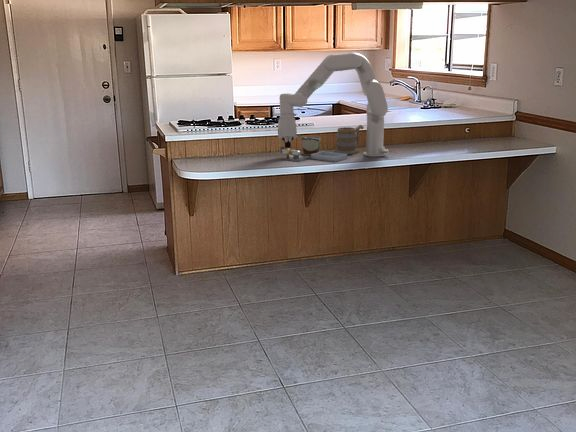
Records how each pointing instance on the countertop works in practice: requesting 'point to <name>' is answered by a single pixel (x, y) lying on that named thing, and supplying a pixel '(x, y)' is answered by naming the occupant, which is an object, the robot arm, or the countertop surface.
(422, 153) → the countertop surface
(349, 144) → the tankard
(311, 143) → the food container
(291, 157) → the crank base
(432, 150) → the countertop surface
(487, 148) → the countertop surface
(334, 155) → the tray
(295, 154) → the crank lever
